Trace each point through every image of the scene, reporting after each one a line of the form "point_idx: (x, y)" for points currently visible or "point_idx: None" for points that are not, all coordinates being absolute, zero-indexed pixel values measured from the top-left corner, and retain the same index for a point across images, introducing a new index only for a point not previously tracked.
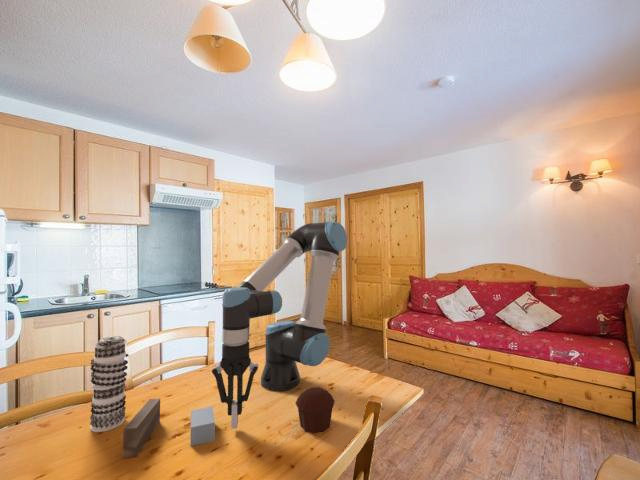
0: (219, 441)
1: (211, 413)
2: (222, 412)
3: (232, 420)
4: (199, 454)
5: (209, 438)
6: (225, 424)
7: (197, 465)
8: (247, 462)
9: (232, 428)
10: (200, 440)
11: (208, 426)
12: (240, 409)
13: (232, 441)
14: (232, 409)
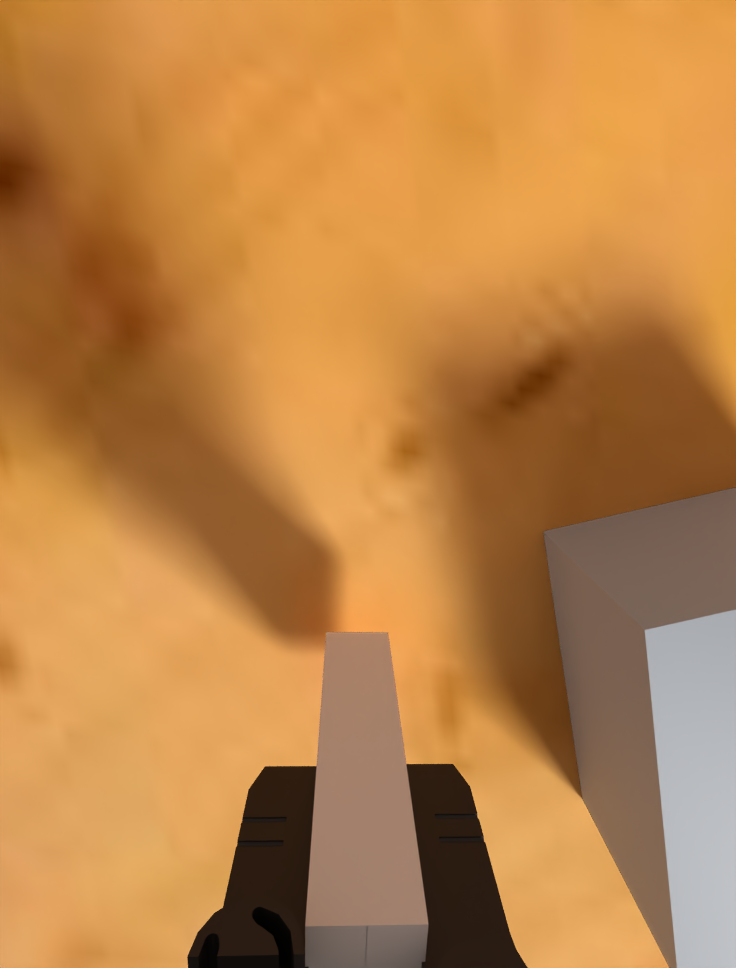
0: (492, 507)
1: (694, 841)
2: None
3: (383, 695)
4: (678, 327)
5: (607, 533)
6: (458, 759)
7: (690, 136)
8: (133, 66)
9: (375, 634)
10: (699, 512)
11: (707, 591)
12: (258, 840)
13: (357, 485)
14: (400, 834)
